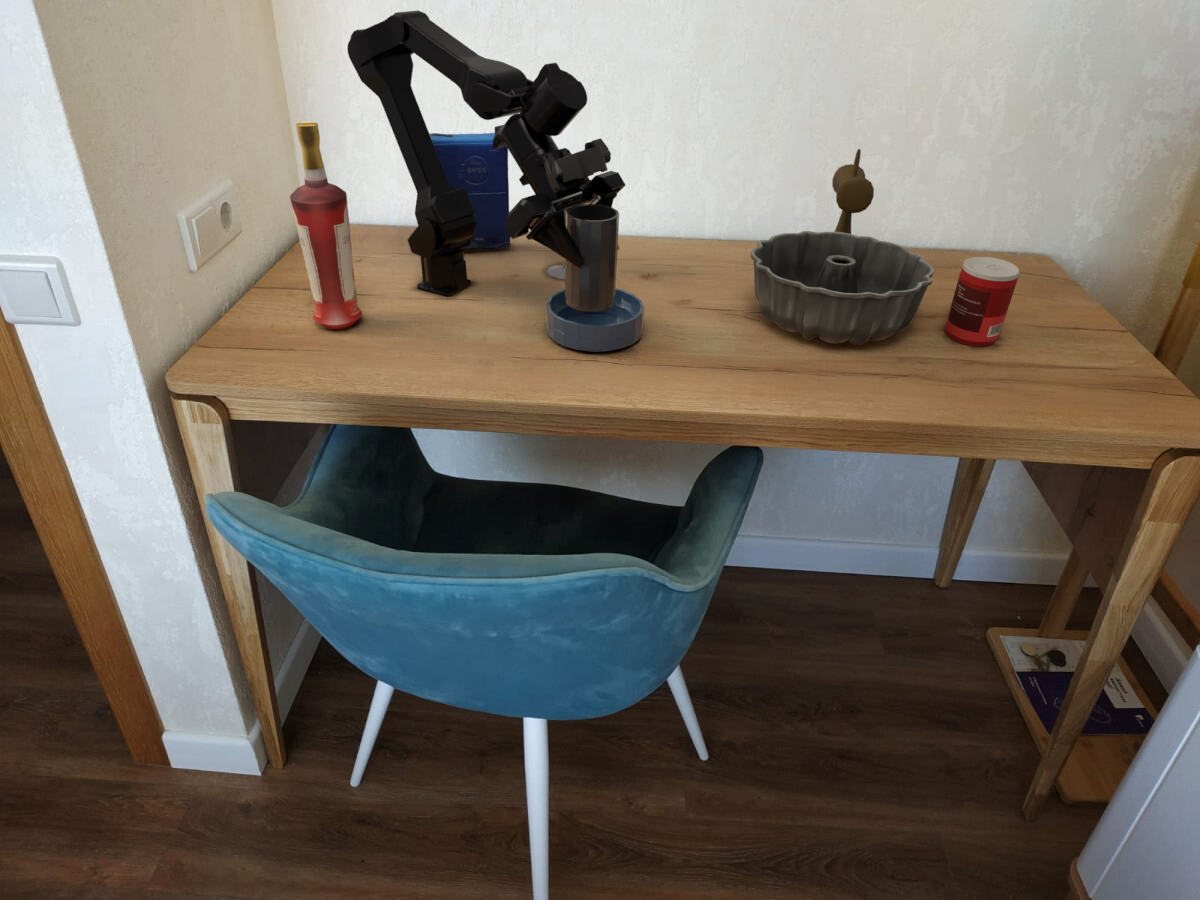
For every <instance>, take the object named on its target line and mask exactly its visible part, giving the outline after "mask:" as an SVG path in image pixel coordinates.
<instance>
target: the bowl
mask: <svg viewBox="0 0 1200 900" xmlns="http://www.w3.org/2000/svg"><path fill="white" fill-rule="evenodd" d="M545 315H546V316H545V320H546V321H545V324H546V325H545V326H546V327H545V328H546V332H547V335H548V337H550V339H551V340H552V341H553V342H555V343H558V344H560V346H563V347H566V348H570V349H572V350H576V351H580V352H581V351H582V352H589V353H601V352H602V353H605V352H612V351H616V350H621V349H624V348H627V347H629V346H632V345H633V344H635V343H636V342H638V341H639V340H640V339H641V337H642V334H643V332H644V318H645V317H644V315H645V306H644V303H643V301H642V299H641V298H639V297H638V295H636V294H634V293H632V292H629V291H627V290H626V289H625V290H624V289H621V288H617V287H616V292H615V303H614V305H613V306H612V307H611V308H609V309H607V310H603V311H598V312H586V311H579V310H576V309H573V308H571V307H569V306H568V305H567V304H566V297H565V289H561V290H559V291H557V292H555V293H554V294H552V295H550V296H549V298H548V299H547V300H546V303H545Z"/></svg>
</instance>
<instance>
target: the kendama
mask: <svg viewBox="0 0 1200 900" xmlns="http://www.w3.org/2000/svg"><path fill="white" fill-rule="evenodd" d="M861 152H862V150H861V148H858V149H857V150H856V154H855V156H854V161H853V164H852V163H851V164H844V165H842V166H840V167H838V169H836V171H835V172H834V174H833V177H832V179H831V181H832V183H831V185H832V189H833V191H834V193H835V194H836V196H835V199H836V201H835V202H836V204H837V206H838V208H839V209H840V210H841V213H840V216H839V218H838V222H837V224H836V227H835V229H834V231H833V232H842V233H848V234H852V215H853V214H858V213H862V212H863V211H866V210H867V209H868V208H869V206H870V205H871V204H872V201H873V199H874V196H875V195H874V193H875V188H874V186H873V183H872V182H871V181H870V180H869V179H867V178H866V173H865V170H864V169H863V168H862V167H861V166H860V161H861V154H862V153H861Z"/></svg>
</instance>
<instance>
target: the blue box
mask: <svg viewBox="0 0 1200 900" xmlns="http://www.w3.org/2000/svg"><path fill="white" fill-rule="evenodd" d="M429 134H430V137H431V139H432V142H433V144H434V147H435V149H436V152H437V155H438V157H439V160H440V162H441V165H442V167H443V170H444V173H445V175H446V178H447V180H448V182H449V183H450V184H451V185H453V186H454V187H455V188H456V189H461V188H464V189H465V190H466V192H467V193H468V197H469V201H470V204H471V206H472V208H473V209H474V211H475V212H476V213H475V214H474V217H475V220H476V227H475V229H474V234H473V238H472V242H471V246H469V247H464V248H461V249H462V250H463V253H465V252H466V253H467V252H468V253H469V252H479V251H496V250H500V249H504V248H510V246H511V236H510V235H509V233H508V231H507V230H506V228H505V216H506V215H507V214H508V213H509V212H510V186H509V185H510V184H509V149H508V148H507V146H504V147H500V148H496V149H495V148H493V138H494V135H495V132H483V133H435V132H432V133H431V132H429Z"/></svg>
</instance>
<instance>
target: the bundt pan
mask: <svg viewBox="0 0 1200 900" xmlns="http://www.w3.org/2000/svg"><path fill="white" fill-rule="evenodd" d="M756 245H757V246H756V247H754V248H753V249H752V250H751V251H750V259H751V260H752V261H753V276H754V277H753V279H754V295H755V299H756V301H757V302H758V307H759V310H760V312H761V315H763V317H765V319H767V320H768V321H770V322H772V323H775V324H776V325H777V326H779V328H780V329H783V330H784V331H786V332H789V333H800V335H801V336H802V337H803V339H804V340H807V341H811V340H813V339H815V338H819V339H820V340H821V341H823V342H825V343H829V344H833V345H834V344H841V343H844V342H847V341H848V342H849V343H851V344H853V345H855V346H860V345H863V344H865V343H866V342H868V341H870V342H871V341H872V342H875V341H877V342H878V341H882V340H885V339H888V338H890V337H892V335H894V334H898V333H900V332H901V331H903V330H904V329H906V328H907V327H908V326H909V325H910V324H911V323H912V322H913V320H914V318H915V316H916V314H917V312H918V309H919V308H920V305H921V302H922V301H923V298H924V296H925V294H926V291H927V289H928V287H929V286H931V285H932V283H933V279H932V277H933V275H934V272H935V269H934V267H933V265H931V264H930V263H929V262H926V261H925V260H924V255H921V254H918V253H914V252H911V250H910V249H908V248H906V246H903V245H900V244H897V243H895V242H891V241H885V240H880V239H877V238H875V237H873V236H867V235H856V234H853V233H851V234H848V233H842V232H834V231H811V230H803V231H800V232H786V233H785V232H784V233H779V234H775V235H773V236H771V237H770V238H768V239H764V240H763V239H762V240H759V241H757V244H756Z"/></svg>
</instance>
